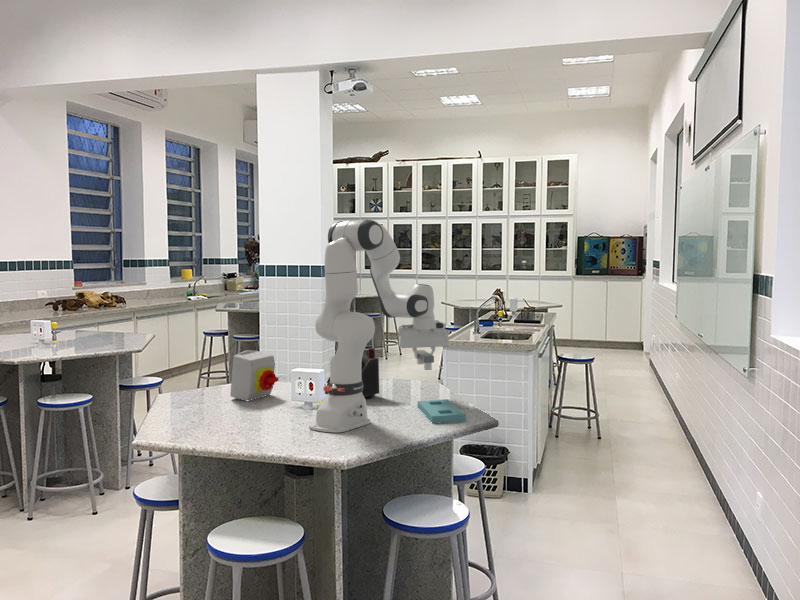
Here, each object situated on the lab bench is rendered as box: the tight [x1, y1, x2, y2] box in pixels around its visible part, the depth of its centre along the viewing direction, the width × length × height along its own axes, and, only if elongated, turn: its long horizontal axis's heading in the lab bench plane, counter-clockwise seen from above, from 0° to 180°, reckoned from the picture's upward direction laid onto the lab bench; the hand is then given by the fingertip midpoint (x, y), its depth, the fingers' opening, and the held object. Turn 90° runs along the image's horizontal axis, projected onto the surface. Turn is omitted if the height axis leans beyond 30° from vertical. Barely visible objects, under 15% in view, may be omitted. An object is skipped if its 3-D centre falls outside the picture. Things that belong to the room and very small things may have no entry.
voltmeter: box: [324, 348, 380, 398], centre depth 264 cm, size 16×16×20 cm
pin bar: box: [413, 349, 435, 371], centre depth 257 cm, size 18×4×6 cm, turn 11°
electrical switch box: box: [229, 349, 279, 401], centre depth 265 cm, size 15×15×20 cm
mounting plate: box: [417, 398, 467, 424], centre depth 233 cm, size 24×12×2 cm, turn 11°
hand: (423, 358), depth 257 cm, fingers closed on pin bar, 4 cm apart
